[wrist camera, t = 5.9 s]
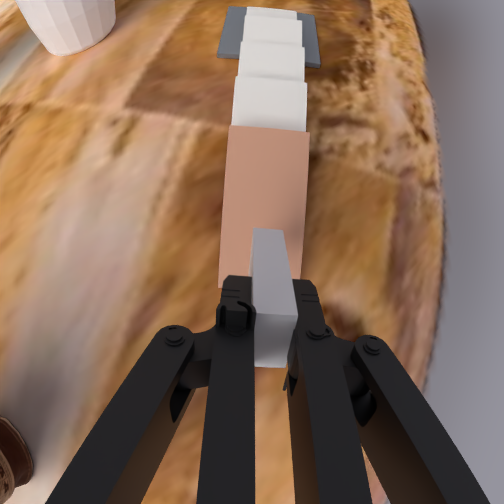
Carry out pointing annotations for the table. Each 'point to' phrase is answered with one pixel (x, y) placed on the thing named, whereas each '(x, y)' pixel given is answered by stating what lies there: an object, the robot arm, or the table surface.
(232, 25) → the slate coaster
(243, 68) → the domino
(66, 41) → the bottle
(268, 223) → the domino
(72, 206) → the table surface
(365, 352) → the robot arm
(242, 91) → the domino
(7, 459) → the coffee cup
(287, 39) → the domino
